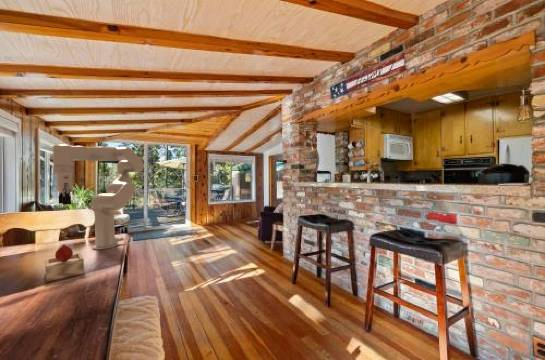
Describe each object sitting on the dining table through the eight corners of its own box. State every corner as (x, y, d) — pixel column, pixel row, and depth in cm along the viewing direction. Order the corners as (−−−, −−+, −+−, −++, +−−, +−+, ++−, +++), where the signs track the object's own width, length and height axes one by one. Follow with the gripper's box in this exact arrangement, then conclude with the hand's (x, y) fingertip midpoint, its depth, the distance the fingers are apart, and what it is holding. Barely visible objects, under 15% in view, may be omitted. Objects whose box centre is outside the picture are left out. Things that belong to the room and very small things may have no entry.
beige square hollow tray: (80, 266, 115) (80, 252, 115) (84, 273, 106) (83, 258, 106) (45, 274, 106) (45, 259, 106) (46, 282, 98) (45, 266, 98)
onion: (52, 263, 105) (52, 245, 105) (68, 259, 110) (68, 241, 110) (59, 265, 102) (58, 246, 102) (75, 261, 107) (75, 243, 107)
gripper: (77, 169, 120) (78, 204, 120) (69, 170, 131) (70, 202, 131) (57, 169, 114) (58, 205, 114) (50, 170, 125) (51, 203, 125)
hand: (64, 203), depth 123 cm, fingers open, 9 cm apart
